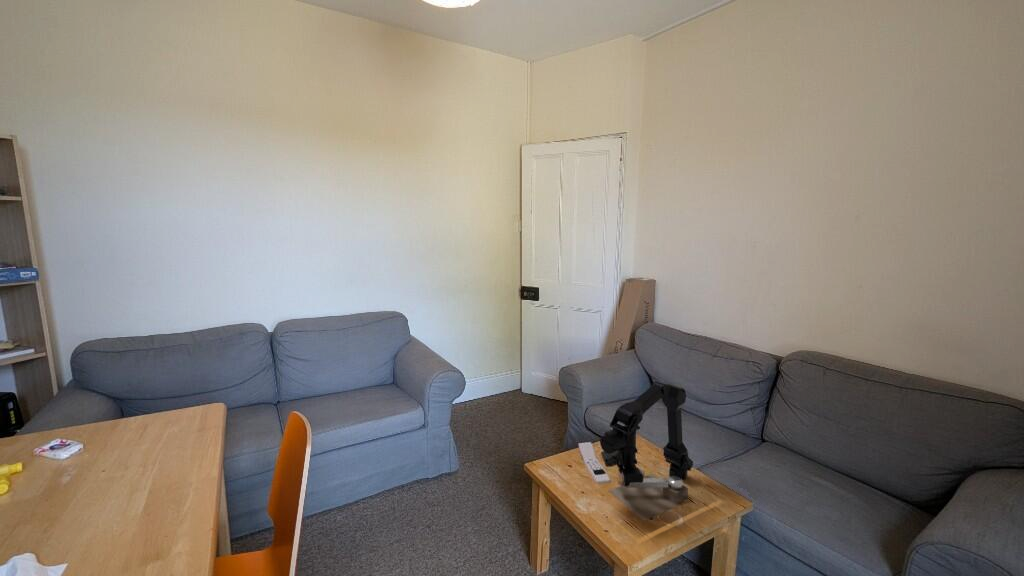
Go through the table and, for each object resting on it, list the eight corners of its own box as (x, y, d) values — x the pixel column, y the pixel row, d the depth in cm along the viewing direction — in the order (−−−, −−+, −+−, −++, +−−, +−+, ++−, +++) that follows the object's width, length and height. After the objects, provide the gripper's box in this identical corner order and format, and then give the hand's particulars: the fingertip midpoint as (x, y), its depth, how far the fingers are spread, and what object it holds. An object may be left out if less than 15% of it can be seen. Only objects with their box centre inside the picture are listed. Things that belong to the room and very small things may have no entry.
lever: (679, 480, 151) (680, 465, 150) (685, 489, 146) (685, 473, 145) (616, 481, 152) (616, 466, 151) (619, 489, 147) (619, 474, 146)
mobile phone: (590, 441, 180) (613, 474, 156) (590, 454, 181) (613, 488, 157) (577, 443, 180) (597, 476, 155) (577, 455, 180) (598, 491, 156)
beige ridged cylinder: (638, 480, 159) (639, 465, 158) (646, 486, 155) (646, 471, 155) (630, 483, 157) (631, 468, 156) (638, 489, 154) (638, 474, 153)
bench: (651, 477, 163) (652, 464, 162) (689, 503, 147) (690, 489, 147) (607, 494, 153) (608, 481, 152) (643, 525, 137) (644, 509, 137)
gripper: (598, 430, 150) (597, 470, 152) (609, 458, 132) (608, 503, 134) (628, 430, 150) (628, 469, 152) (644, 458, 131) (643, 503, 134)
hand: (626, 485), depth 143 cm, fingers closed
